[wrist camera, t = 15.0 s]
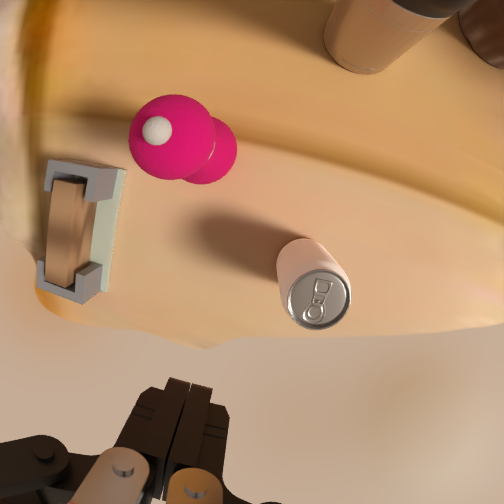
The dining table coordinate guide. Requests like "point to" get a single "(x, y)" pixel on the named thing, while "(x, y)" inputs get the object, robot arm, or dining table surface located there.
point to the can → (312, 285)
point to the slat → (69, 231)
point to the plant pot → (485, 29)
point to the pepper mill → (181, 141)
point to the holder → (109, 199)
